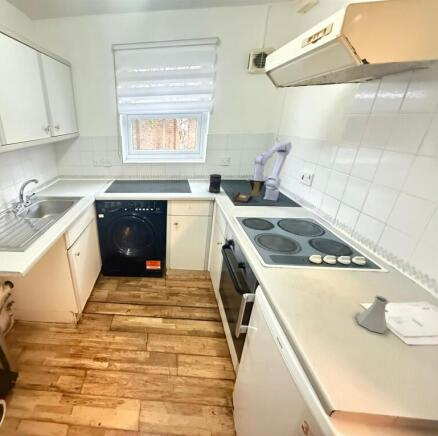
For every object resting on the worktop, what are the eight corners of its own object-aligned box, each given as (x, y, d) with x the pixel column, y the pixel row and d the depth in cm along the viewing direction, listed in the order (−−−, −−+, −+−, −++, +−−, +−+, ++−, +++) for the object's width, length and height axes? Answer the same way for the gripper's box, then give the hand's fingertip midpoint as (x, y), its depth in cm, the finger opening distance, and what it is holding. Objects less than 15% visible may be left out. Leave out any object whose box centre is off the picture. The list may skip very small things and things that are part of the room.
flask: (386, 337, 70) (399, 311, 66) (355, 325, 75) (365, 300, 71) (386, 322, 75) (398, 298, 71) (356, 311, 80) (366, 287, 76)
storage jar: (211, 189, 220) (212, 173, 214) (221, 191, 214) (223, 174, 209) (207, 192, 212) (208, 175, 207) (217, 193, 207) (219, 177, 201)
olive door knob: (251, 195, 179) (253, 181, 174) (251, 193, 184) (253, 179, 180) (260, 196, 177) (262, 182, 172) (259, 194, 182) (261, 180, 178)
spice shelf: (250, 196, 197) (251, 192, 196) (246, 202, 183) (247, 198, 182) (238, 195, 202) (238, 190, 201) (233, 201, 188) (233, 196, 187)
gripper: (247, 173, 174) (244, 190, 179) (269, 174, 167) (265, 193, 172) (249, 171, 180) (246, 188, 185) (270, 172, 172) (267, 190, 178)
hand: (256, 190), depth 179 cm, fingers closed on olive door knob, 5 cm apart
